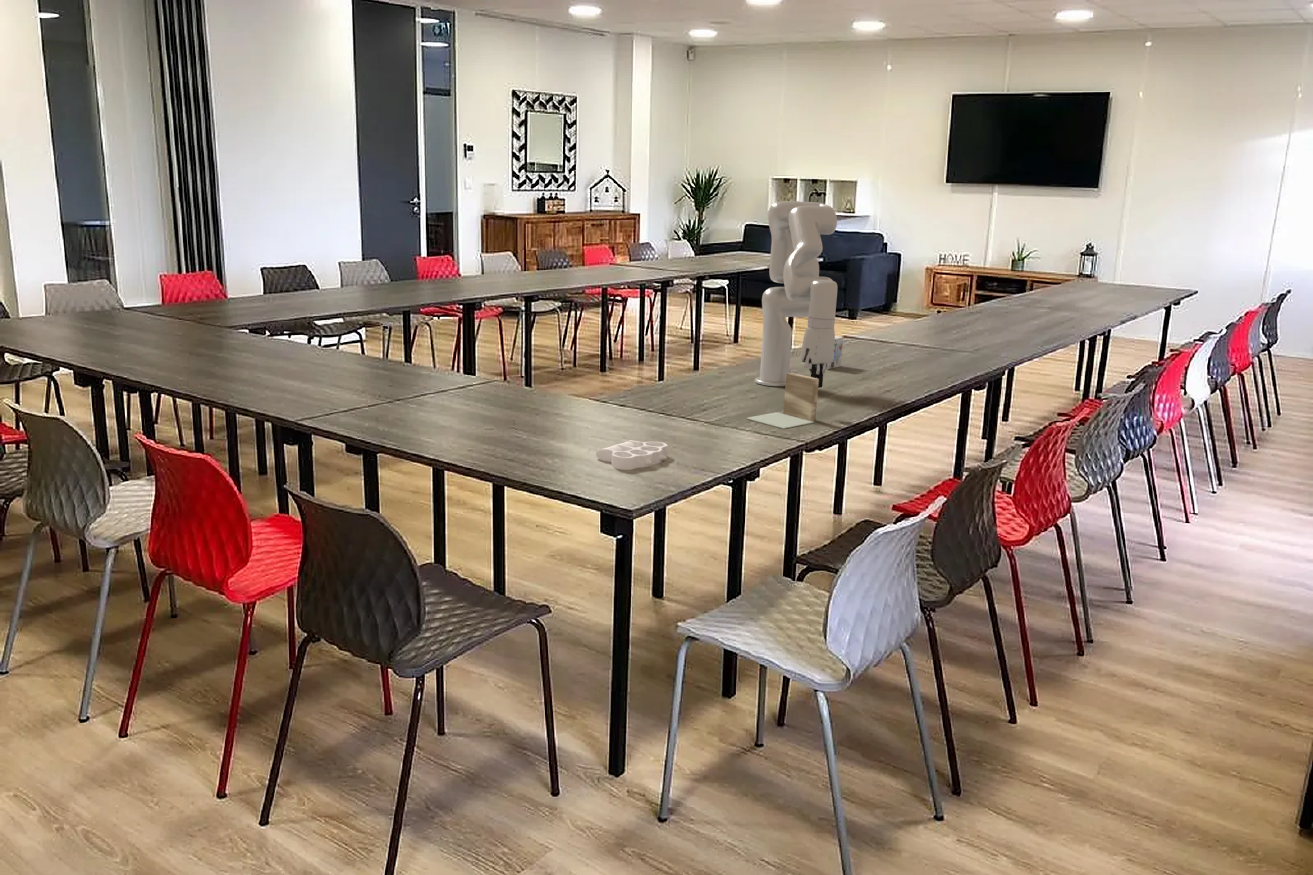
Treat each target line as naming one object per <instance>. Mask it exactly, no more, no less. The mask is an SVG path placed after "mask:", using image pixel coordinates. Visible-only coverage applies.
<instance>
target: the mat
mask: <svg viewBox="0 0 1313 875" xmlns="http://www.w3.org/2000/svg"><path fill="white" fill-rule="evenodd" d="M745 419H746V420H748V421H751V422H755V423H759V424H763V425H766V426H771V427H774V428H777V429H781V430H785V429H790V428H795V427H800V426H801V427H802V426H806V425H810V424H814V423H815V422H814V421H808V420H805V419H801V418H797V417H793V416H789V415H785V414H783V413H781V412H777V411H775V412H771V413H765V414H760V415H755V416H749V417H745Z"/></svg>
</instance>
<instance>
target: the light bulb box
mask: <svg viewBox="0 0 1313 875" xmlns="http://www.w3.org/2000/svg"><path fill="white" fill-rule="evenodd" d="M843 344H844V337H843V336H836V335H835V352H834V359H833V361H831V365H829V366H828V367H826V369H825V370H831V369H835V368H838V367H841V366H842V355H843ZM815 367H816V366H815Z"/></svg>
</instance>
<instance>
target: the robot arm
mask: <svg viewBox="0 0 1313 875" xmlns="http://www.w3.org/2000/svg"><path fill="white" fill-rule="evenodd" d="M767 220H768V226H769V232H770V234H771V246H770V255H769V256H770V257H769V258H770V259H769V271H768V272H769V278H770V280H771V281H772V282H774V283H777V284H784V285H783V286H774V287H769V288H767V289H766V290H765V291H764V292H763V293H762V296H761V297H762V298H761V307H762V319H763V320H762V340H761V342H762V343H761V353H760V354H761V356H760V367H759V368H760V371H759V376H755V378H754V382H755V383H756V384H758V385H760V386H761V385H762V386H768V387H785V383H786V374H787V373H795V374H799V373H798V370H797V369H791V368H790V367H791V366H790V365H791V354H792V351H791V350H792V339H793V329H792V327H791V325H790V324H789V322H788V321H787V319H786V318H790V317H791V318H807V327H806V328H805V331H804V335H803V340H802V343H801V345H802V346H801V353H800V361H801V362H802V363H804V365H803V366H804V368H805V369H809V374H810V377H813V378H817V379H819V383H818V389H820V388H821V389H822V387H823V381H824V374H826V370H827V369H826V367H828V366H829V365H831V361H833V359H834V352H835V336H836V334H835V333H836V332H835V323H836V322H835V321H836V320H835V319H836V311H837V310H836V308H837V298H838V284H837V282H836V281H834V280H833V279H832V278H830V277H827V276H820V264H819V261H818V260H819V259H818V257H819V256H820V255H821V254H822V252H823V248H824V247H823V242H822V238H821V235H829V236H830V235H832V234H834V233H835V231H836V229H837V225H838V217H837V213H836V211H835V210H834V208H833V207H832V206H830V205H828V204H825V203H823V202H817V201H799V200H798V201H795V200H789V201H788V200H782V201H775V202H774V203H772V204H771V205H770V206H769V209H768V219H767ZM815 366H816V367H815Z"/></svg>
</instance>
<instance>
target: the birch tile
mask: <svg viewBox="0 0 1313 875" xmlns="http://www.w3.org/2000/svg"><path fill="white" fill-rule="evenodd" d="M818 383H819V379H817V378H813V377H811V376H807V375H803V374H799V373H798V374H795V373H787V374H786V383H785V386H784V387H785V388H784V399H783V400H784V401H783V413H782V414H785V415H789V416H793V417H797V418H801V419H805V420H808V421H812V422H814V421H816V420H817V407H818V405H817V404H818V395H819V394H818V392H819V388H818Z"/></svg>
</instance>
